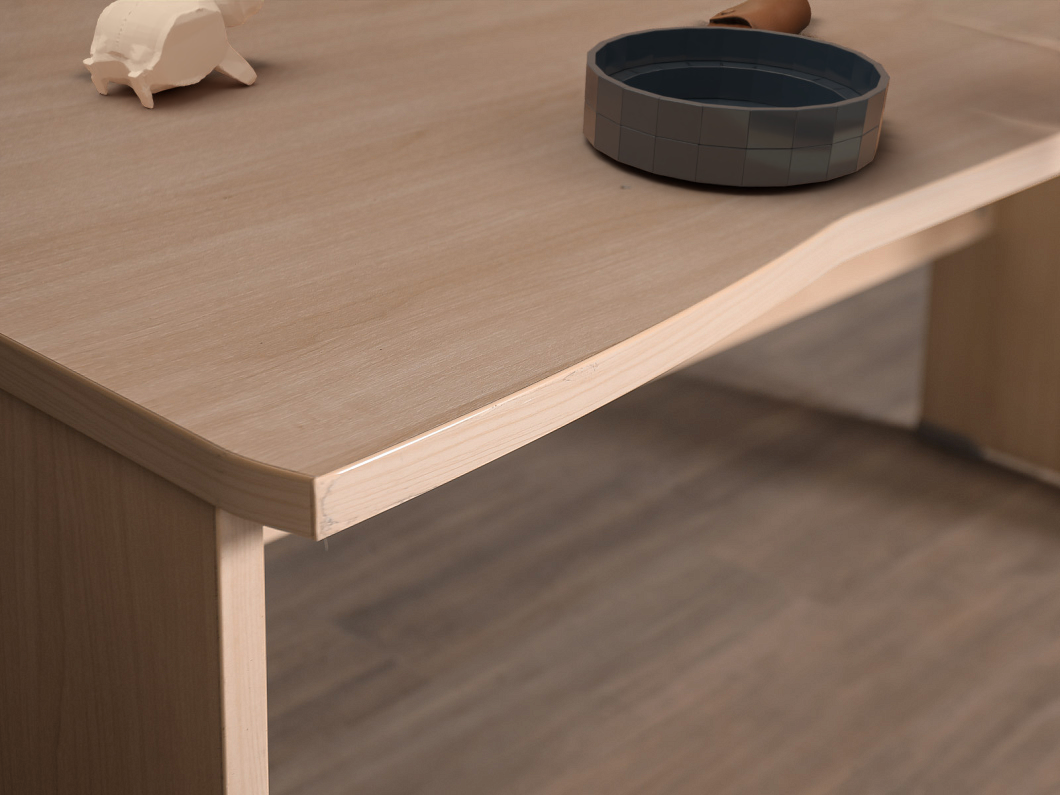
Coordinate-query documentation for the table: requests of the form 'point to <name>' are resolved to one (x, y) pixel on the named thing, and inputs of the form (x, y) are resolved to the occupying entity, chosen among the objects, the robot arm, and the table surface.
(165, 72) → the white animal figurine
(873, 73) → the bowl
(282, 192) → the table surface
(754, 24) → the sunglasses case
